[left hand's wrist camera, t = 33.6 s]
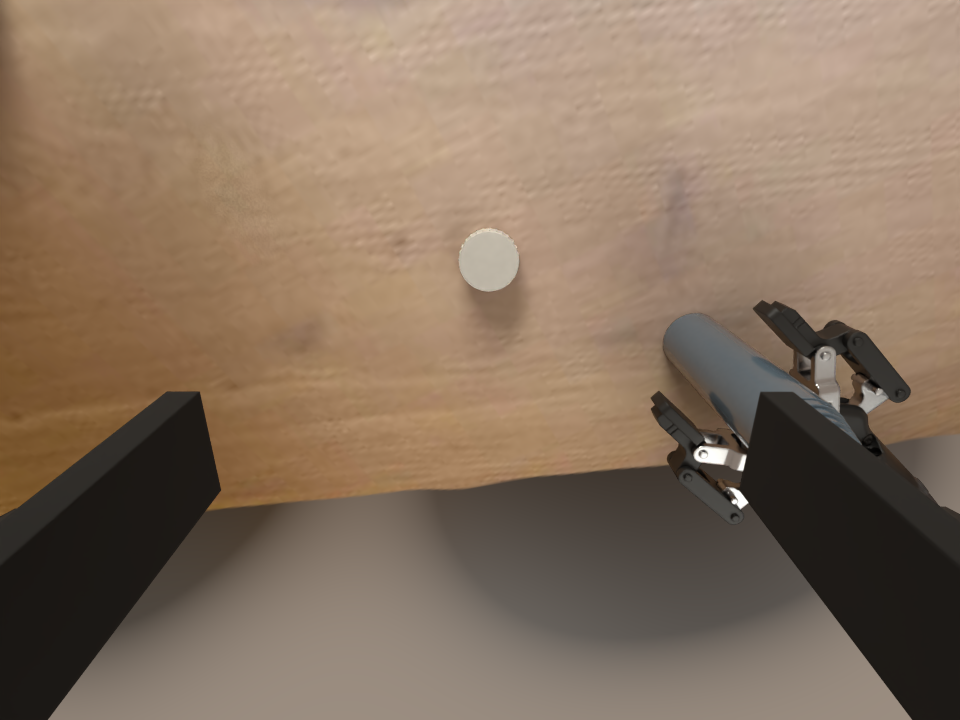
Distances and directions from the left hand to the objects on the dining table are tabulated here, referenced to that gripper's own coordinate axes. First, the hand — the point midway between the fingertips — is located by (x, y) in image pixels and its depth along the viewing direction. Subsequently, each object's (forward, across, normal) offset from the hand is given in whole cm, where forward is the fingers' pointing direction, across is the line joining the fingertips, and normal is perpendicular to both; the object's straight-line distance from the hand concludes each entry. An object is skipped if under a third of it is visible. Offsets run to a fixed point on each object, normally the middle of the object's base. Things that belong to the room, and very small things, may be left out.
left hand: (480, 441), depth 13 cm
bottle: (+26, +16, -7) cm, 31 cm away
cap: (+25, +1, -1) cm, 25 cm away
